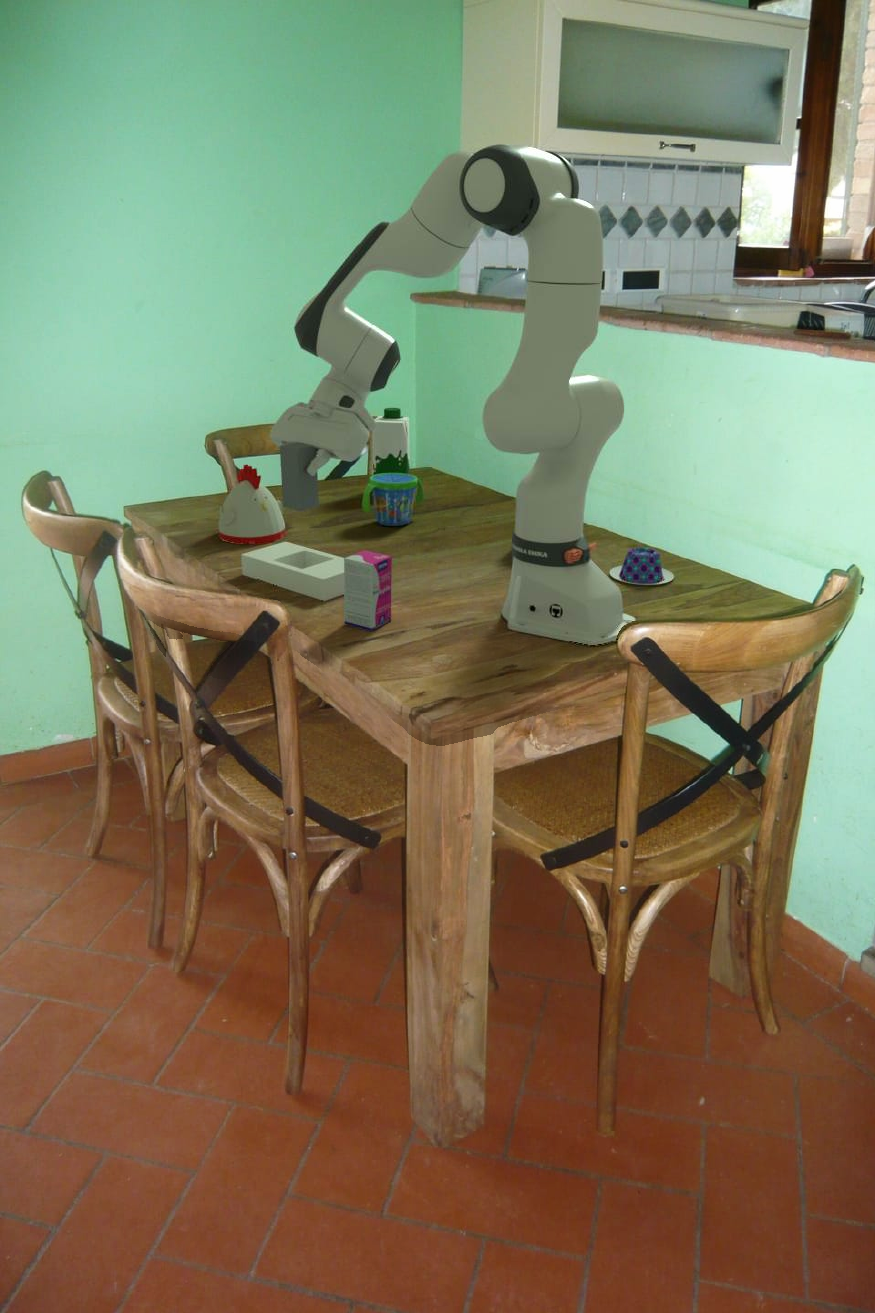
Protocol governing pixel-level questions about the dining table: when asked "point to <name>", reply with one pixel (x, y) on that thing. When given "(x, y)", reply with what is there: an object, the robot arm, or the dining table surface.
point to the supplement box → (367, 590)
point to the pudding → (642, 568)
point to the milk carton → (391, 443)
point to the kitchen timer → (251, 512)
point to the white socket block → (297, 569)
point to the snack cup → (392, 497)
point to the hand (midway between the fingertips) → (296, 470)
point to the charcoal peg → (298, 477)
